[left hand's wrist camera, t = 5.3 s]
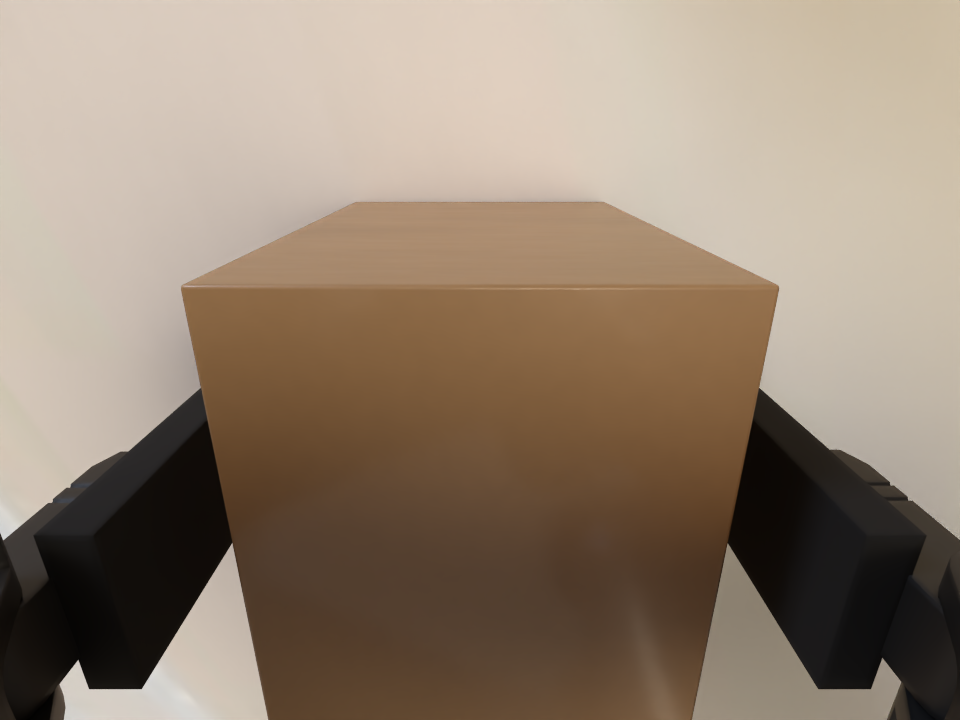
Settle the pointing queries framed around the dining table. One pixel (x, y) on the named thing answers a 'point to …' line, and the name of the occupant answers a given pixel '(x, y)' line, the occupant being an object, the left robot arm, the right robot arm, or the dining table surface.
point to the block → (480, 457)
